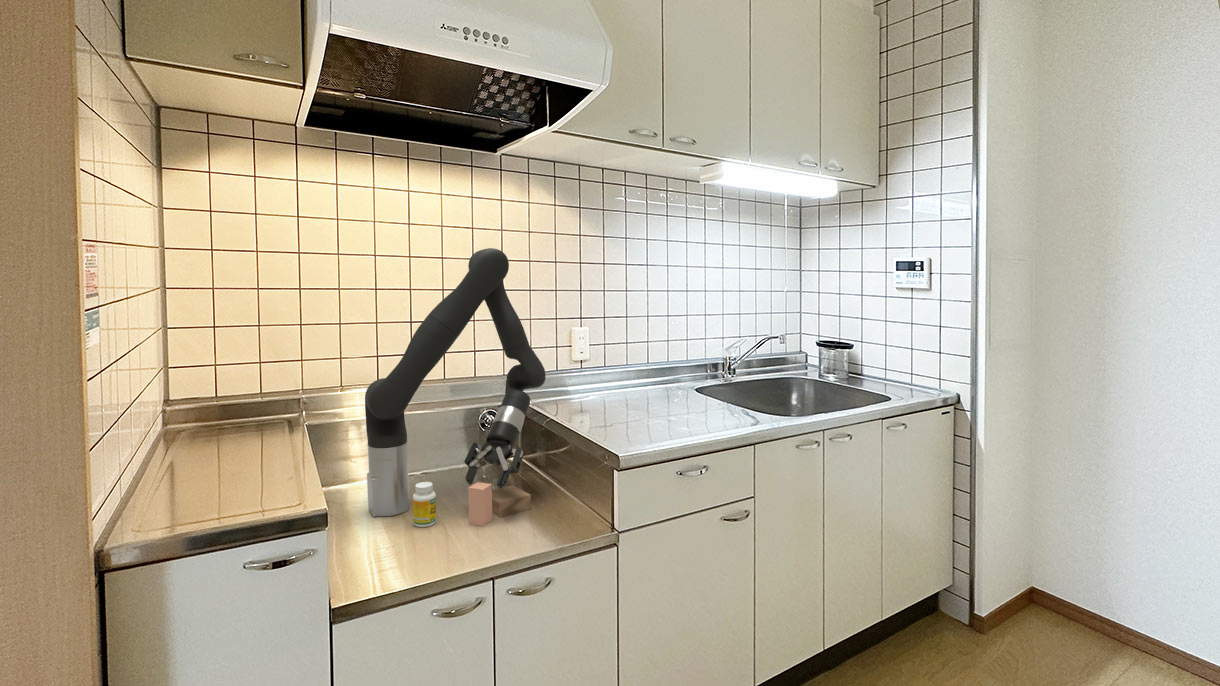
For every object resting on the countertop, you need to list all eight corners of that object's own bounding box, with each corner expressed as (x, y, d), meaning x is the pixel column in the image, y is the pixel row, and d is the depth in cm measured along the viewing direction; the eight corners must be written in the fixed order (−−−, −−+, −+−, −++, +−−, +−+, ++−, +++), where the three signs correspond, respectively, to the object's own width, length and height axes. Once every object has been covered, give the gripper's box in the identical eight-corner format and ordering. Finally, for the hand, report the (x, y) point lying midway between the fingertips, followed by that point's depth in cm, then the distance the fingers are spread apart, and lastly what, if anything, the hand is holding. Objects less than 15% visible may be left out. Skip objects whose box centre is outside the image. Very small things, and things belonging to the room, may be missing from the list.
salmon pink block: (483, 526, 140) (483, 489, 139) (469, 523, 142) (468, 487, 141) (492, 519, 144) (491, 484, 143) (478, 517, 145) (477, 482, 144)
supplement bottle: (417, 518, 144) (415, 480, 143) (439, 518, 145) (438, 480, 144) (410, 527, 139) (409, 488, 138) (433, 527, 139) (432, 488, 138)
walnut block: (499, 518, 146) (499, 502, 145) (483, 507, 153) (482, 492, 152) (531, 510, 151) (530, 494, 151) (513, 499, 158) (513, 485, 158)
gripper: (476, 417, 152) (452, 474, 143) (526, 422, 148) (504, 481, 138) (487, 432, 158) (464, 488, 148) (536, 437, 153) (515, 495, 144)
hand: (483, 484), depth 143 cm, fingers open, 8 cm apart
